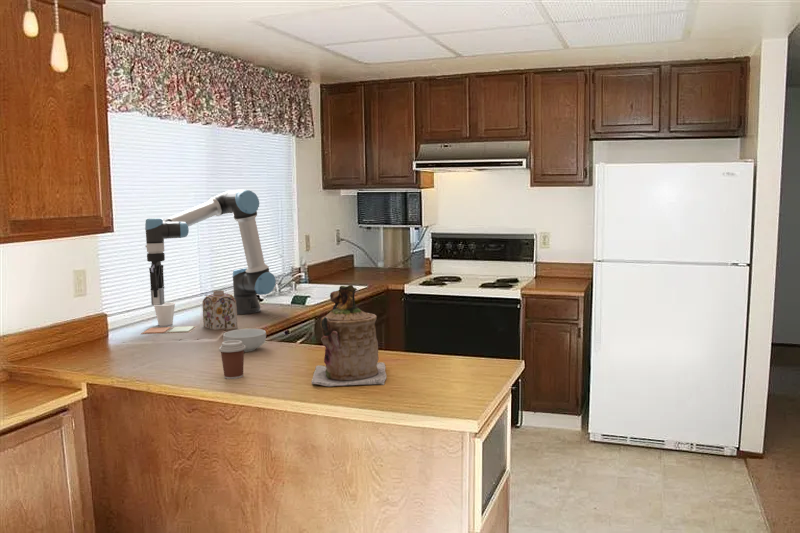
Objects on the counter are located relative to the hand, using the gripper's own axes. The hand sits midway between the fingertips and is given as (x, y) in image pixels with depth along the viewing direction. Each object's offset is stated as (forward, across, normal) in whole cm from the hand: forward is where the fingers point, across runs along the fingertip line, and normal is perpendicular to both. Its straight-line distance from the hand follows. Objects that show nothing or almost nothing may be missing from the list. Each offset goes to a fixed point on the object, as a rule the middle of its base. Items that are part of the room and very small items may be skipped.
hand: (158, 303), depth 319 cm
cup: (+14, -14, -1) cm, 19 cm away
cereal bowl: (+14, +41, +46) cm, 63 cm away
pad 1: (+12, +1, -1) cm, 12 cm away
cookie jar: (+14, +88, +89) cm, 126 cm away
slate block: (0, 0, 0) cm, 0 cm away
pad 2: (+12, +1, +10) cm, 16 cm away
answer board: (+13, +1, +5) cm, 14 cm away
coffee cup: (+14, +82, +49) cm, 97 cm away
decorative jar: (+13, -4, +27) cm, 30 cm away
